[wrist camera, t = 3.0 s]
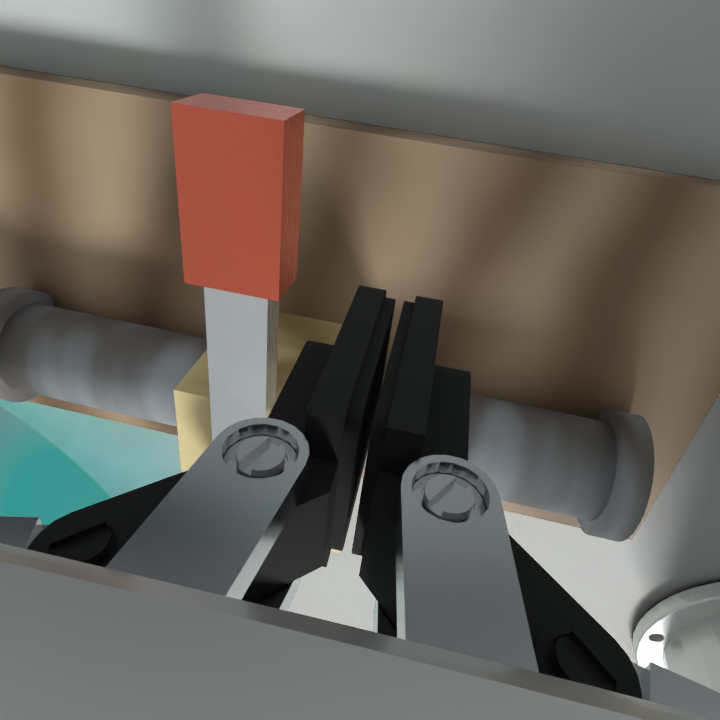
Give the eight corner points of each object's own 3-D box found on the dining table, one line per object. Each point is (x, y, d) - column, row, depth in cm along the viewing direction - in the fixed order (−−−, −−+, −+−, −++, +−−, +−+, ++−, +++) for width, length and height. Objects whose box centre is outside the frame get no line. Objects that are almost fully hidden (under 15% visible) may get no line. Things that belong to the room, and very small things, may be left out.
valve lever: (291, 534, 22) (278, 568, 21) (214, 516, 22) (197, 548, 21) (317, 110, 13) (297, 123, 12) (190, 90, 13) (157, 100, 12)
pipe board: (810, 195, 20) (1007, 314, 13) (626, 518, 30) (672, 695, 23) (-60, 56, 24) (-324, 81, 16) (32, 383, 34) (-105, 496, 26)
